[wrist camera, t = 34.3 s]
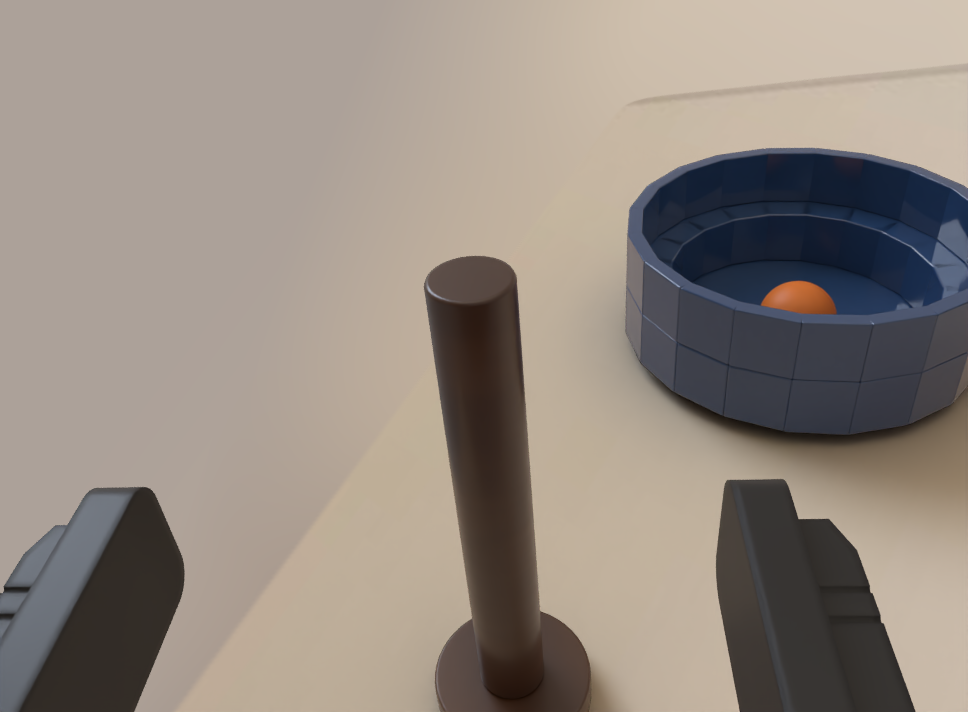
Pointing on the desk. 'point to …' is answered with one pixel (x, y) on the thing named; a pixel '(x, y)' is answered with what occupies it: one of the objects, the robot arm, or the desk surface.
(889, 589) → the desk surface
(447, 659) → the stick
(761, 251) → the bowl
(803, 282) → the bead
